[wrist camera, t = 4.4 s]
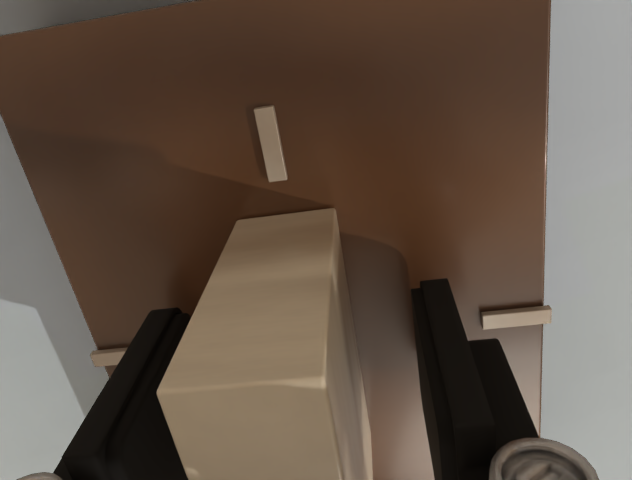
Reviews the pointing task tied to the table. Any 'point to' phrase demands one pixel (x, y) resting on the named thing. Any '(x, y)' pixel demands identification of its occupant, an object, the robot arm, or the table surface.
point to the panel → (300, 166)
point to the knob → (272, 361)
